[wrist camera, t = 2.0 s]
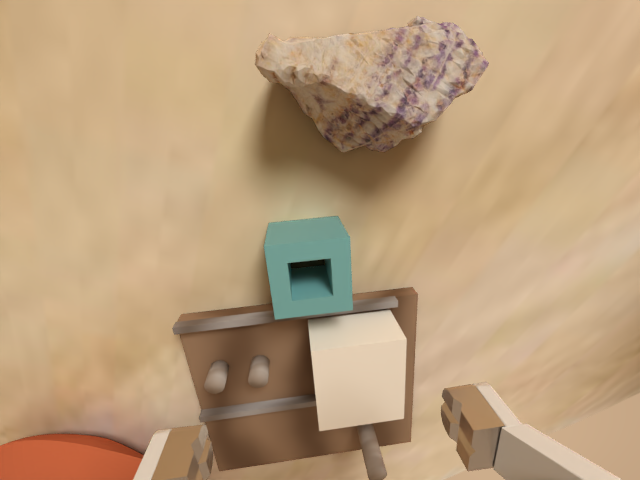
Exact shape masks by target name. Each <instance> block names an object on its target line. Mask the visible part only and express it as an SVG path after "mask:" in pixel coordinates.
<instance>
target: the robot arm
mask: <svg viewBox="0 0 640 480" xmlns="http://www.w3.org/2000/svg"><path fill="white" fill-rule="evenodd" d="M442 397H443V399H444V401H445V402H444V404H443V405H442V406H441V417H442V422H443V425H444V427H445V430H446V432H447V434H448V436H449V437H450V438H451V439H453V440H454V441H456V442H457V448H456V451H457V452H458V454H459V456H460V458H461V460H462V462H463V464H464V465H465V467H466V469H467V471H473V470H481V469H488V468H494V470H495V471H496V472H497V473H498V474H499V475H501V476H502V477H503V478H504V479H505V480H621V479H620V478H619V477H617V476H615V475H613V474H612V473H610V472H608V471H607V470H605V469H603V468H602V467H600V466H598V465H597V464H595V463H593V462H591V461H590V460H588V459H586V458H585V457H583V456H581V455H579V454H578V453H576V452H574V451H573V450H571V449H569V448H567V447H566V446H564V445H562V444H560V443H559V442H557V441H555V440H554V439H552V438H550V437H549V436H547V435H545V434H544V433H542V432H540V431H538V430H537V429H535V428H533V427H532V426H530V425H528V424H527V423H525V424H522V423H521V422H520V421H519V420H518V418H517V417H516V416H515V415H514V414H513V412H512V411H511V410H510V409H509V407H508V406H507V405H506V404H505V403H504V401H503V400H502V399H501V398H500V396H499V395H498V394H497V393H496V392H495V390H494V389H493V388H492V387H491V385H490V384H488V383H487V382H484V383H477V384H472V385H471V384H469V385H463V386H456V387H450V388H445V389H444V390H443V393H442ZM207 434H208V430H207V427H206V425H196V426H187V427H179V428H171V429H164V430H157V431H156V432H155V433H154V435H153V436H152V438H151V440H150V443H149V445H148V447H147V449H146V452H145V454H144V456H143V458H142V461H141V463H140V465H139V467H138V470H137V472H136V474H135V476H134V479H133V480H207V478H208V477H209V476H210V473H211V469H212V462H213V448H212V443H211V441H210V440H208V439H207Z"/></svg>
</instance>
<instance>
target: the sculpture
mask: <svg viewBox="0 0 640 480" xmlns="http://www.w3.org/2000/svg"><path fill="white" fill-rule="evenodd" d="M143 456H144V455H142V454H140V453H138V452H136V451H135V450H133V449H131V448H129V447H126V446H124V445H122V444H120V443H118V442H115V441H113V440H110V439H107V438H102V437H96V436H89V435H78V434H46V435H38V436H32V437H26V438H22V439H19V440H15V441H12V442H9V443H6V444H3V445H1V446H0V480H133V479H134V476H135V474H136V472H137V470H138V467H139V465H140V463H141V461H142V458H143Z"/></svg>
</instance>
